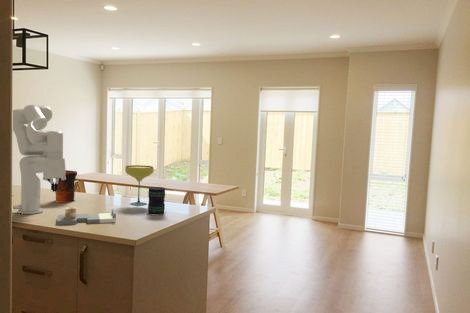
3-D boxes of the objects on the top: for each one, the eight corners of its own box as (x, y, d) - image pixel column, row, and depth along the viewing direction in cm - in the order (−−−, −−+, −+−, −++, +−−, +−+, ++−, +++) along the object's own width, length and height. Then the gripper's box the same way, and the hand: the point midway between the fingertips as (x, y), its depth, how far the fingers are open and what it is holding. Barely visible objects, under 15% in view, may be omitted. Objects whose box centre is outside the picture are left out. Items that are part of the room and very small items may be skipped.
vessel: (49, 199, 251) (50, 169, 250) (71, 198, 260) (72, 169, 259) (56, 203, 240) (57, 172, 239) (79, 202, 250) (80, 172, 249)
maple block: (65, 218, 193) (65, 209, 193) (65, 216, 198) (65, 207, 198) (75, 218, 195) (75, 208, 195) (75, 216, 200) (75, 206, 200)
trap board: (57, 224, 188) (57, 216, 188) (58, 218, 201) (58, 210, 201) (115, 222, 199) (116, 213, 199) (113, 216, 212) (113, 208, 212)
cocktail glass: (148, 201, 263) (149, 165, 261) (155, 206, 247) (156, 167, 245) (121, 202, 254) (123, 165, 253) (127, 207, 238) (128, 167, 237)
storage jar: (144, 213, 223) (145, 188, 223) (153, 210, 233) (154, 186, 232) (158, 215, 220) (159, 189, 219) (167, 212, 229) (168, 187, 228)
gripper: (37, 155, 185) (37, 192, 186) (70, 156, 191) (70, 192, 192) (38, 155, 192) (38, 190, 193) (70, 155, 198) (70, 190, 199)
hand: (54, 191), depth 192 cm, fingers closed
